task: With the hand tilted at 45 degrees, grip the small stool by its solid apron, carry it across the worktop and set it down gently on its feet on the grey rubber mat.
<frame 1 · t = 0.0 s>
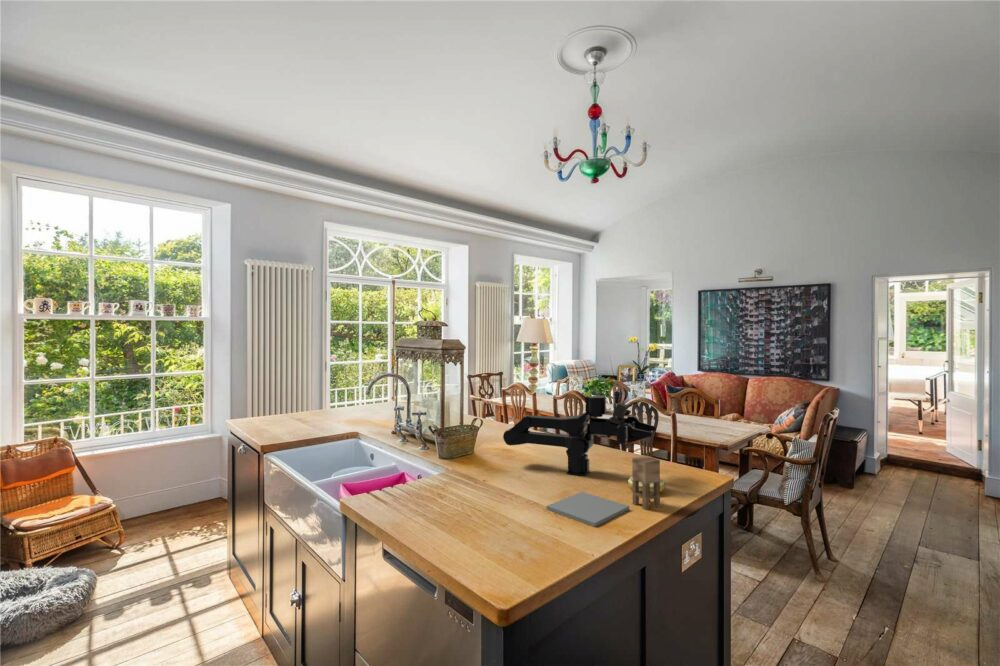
hand: (653, 431, 149), 17 cm above the worktop, tool horizontal, fingers open, 9 cm apart
decorated donut: (646, 491, 142), on the worktop
stool: (646, 505, 130), on the worktop
mat: (587, 509, 127), on the worktop
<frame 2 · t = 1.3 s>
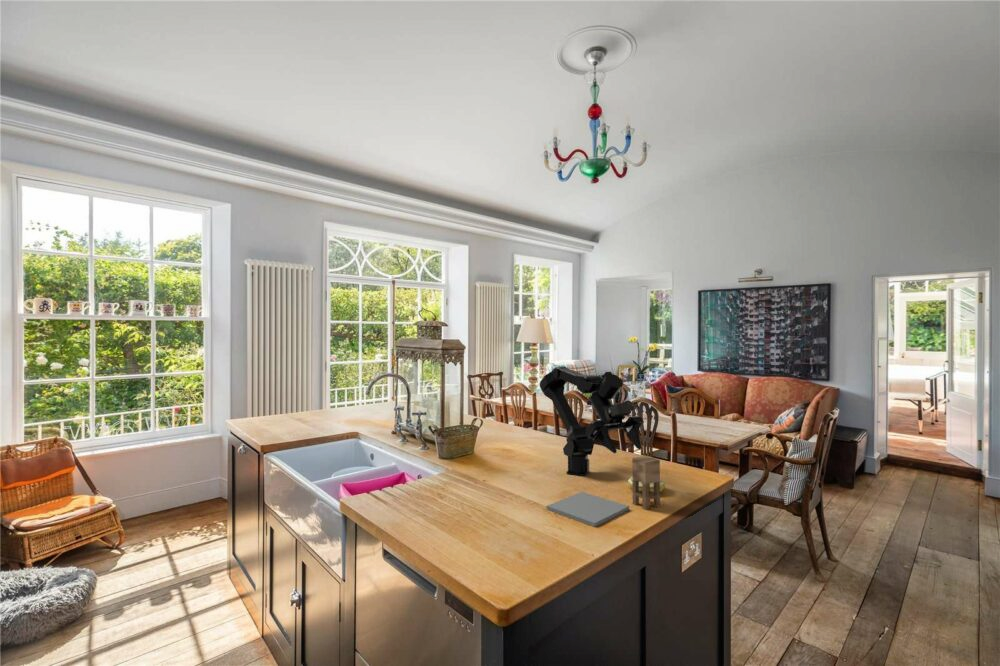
hand: (628, 450, 137), 14 cm above the worktop, tool tilted 45°, fingers open, 9 cm apart
nothing on the worktop moved.
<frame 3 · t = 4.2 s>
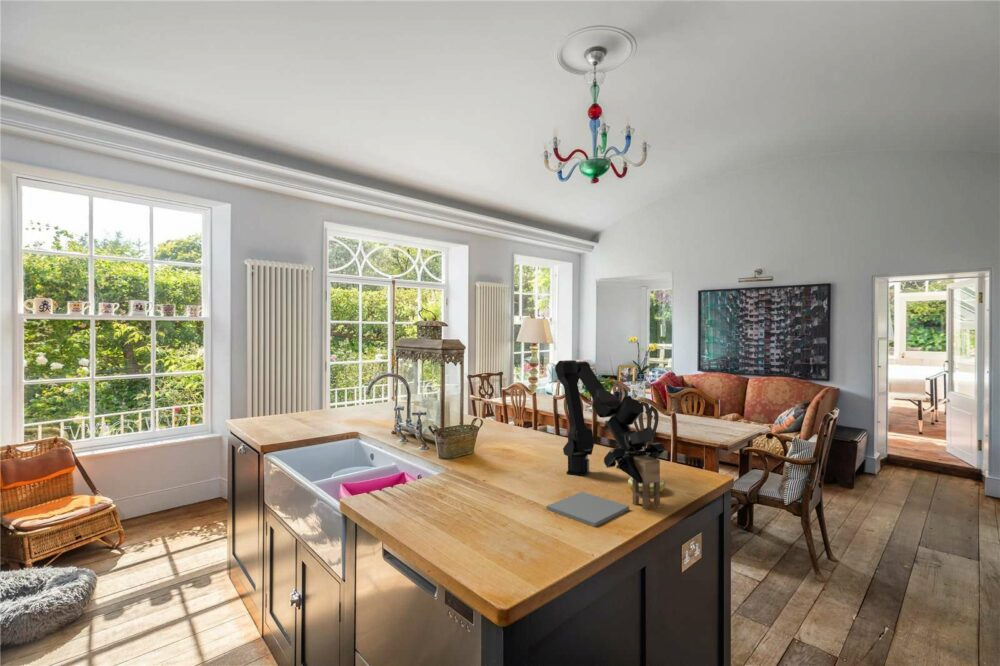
hand: (649, 481, 129), 7 cm above the worktop, tool tilted 45°, fingers closed on stool, 5 cm apart
stool: (646, 505, 130), on the worktop, touching gripper
everything else where it was.
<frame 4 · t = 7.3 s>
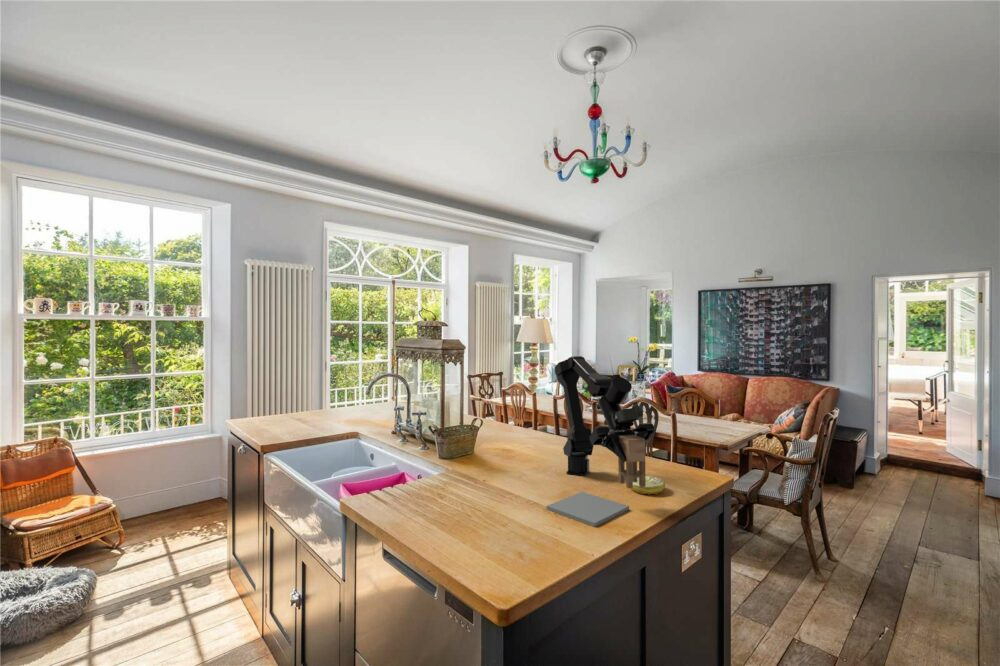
hand: (634, 460, 127), 14 cm above the worktop, tool tilted 45°, fingers closed on stool, 5 cm apart
stool: (631, 484, 128), point 6 cm above the worktop, touching gripper
everything else where it was.
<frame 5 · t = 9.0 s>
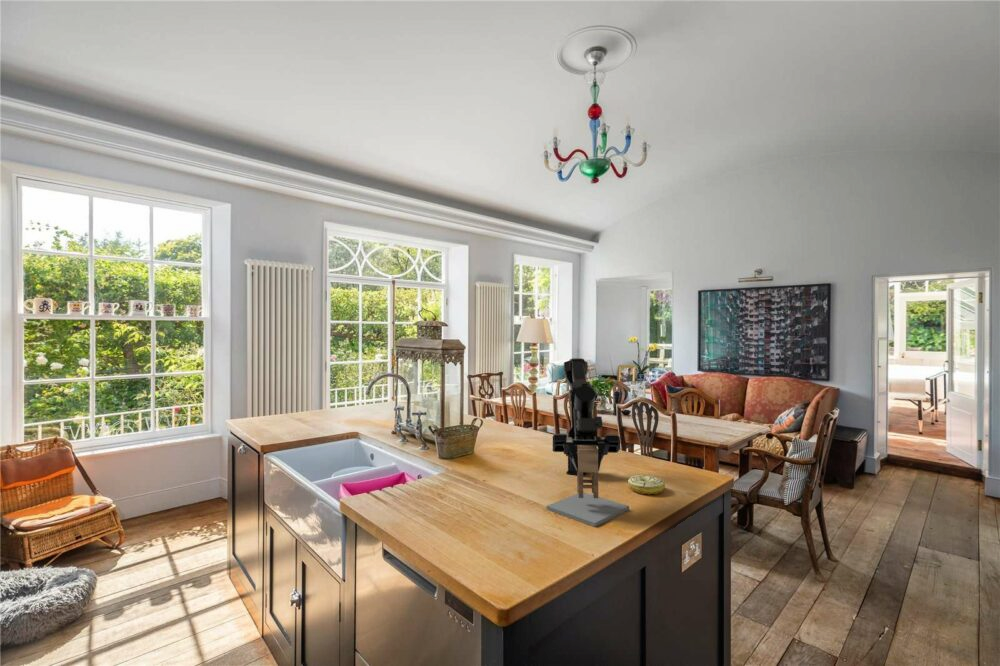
hand: (587, 470, 126), 11 cm above the worktop, tool tilted 45°, fingers closed on stool, 5 cm apart
stool: (587, 494, 127), point 4 cm above the worktop, touching gripper
everything else where it was.
when the fingers open (8 cm above the worktop, at t = 10.3 s): stool stays where it is, resting on mat.
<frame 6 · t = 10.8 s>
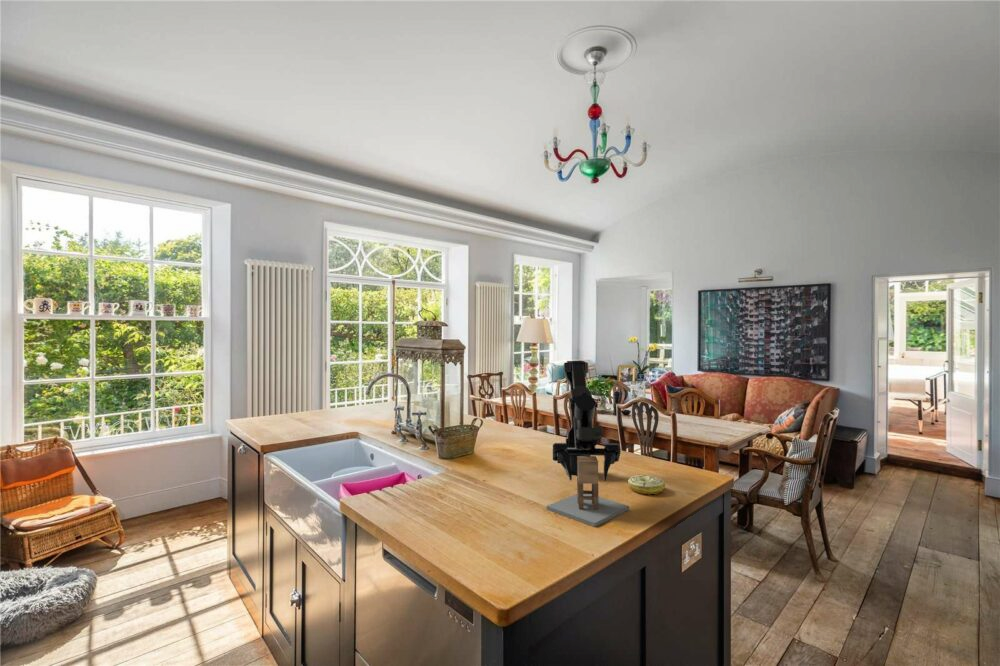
hand: (588, 480, 126), 9 cm above the worktop, tool tilted 45°, fingers open, 9 cm apart
stool: (587, 505, 127), point 1 cm above the worktop, touching mat
everything else where it was.
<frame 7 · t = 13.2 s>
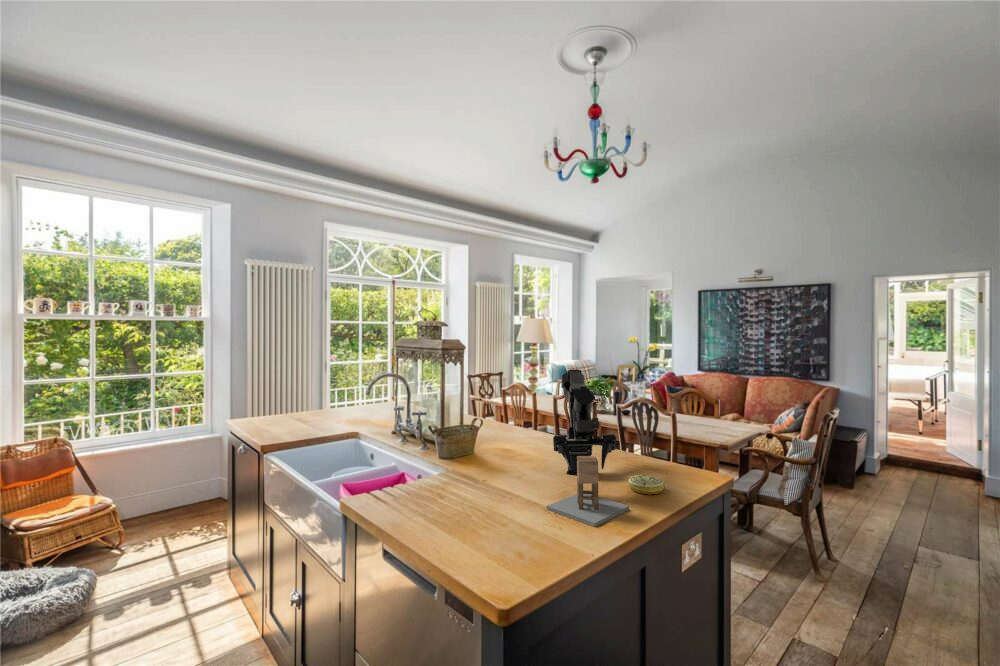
hand: (586, 468, 135), 9 cm above the worktop, tool tilted 40°, fingers open, 9 cm apart
nothing on the worktop moved.
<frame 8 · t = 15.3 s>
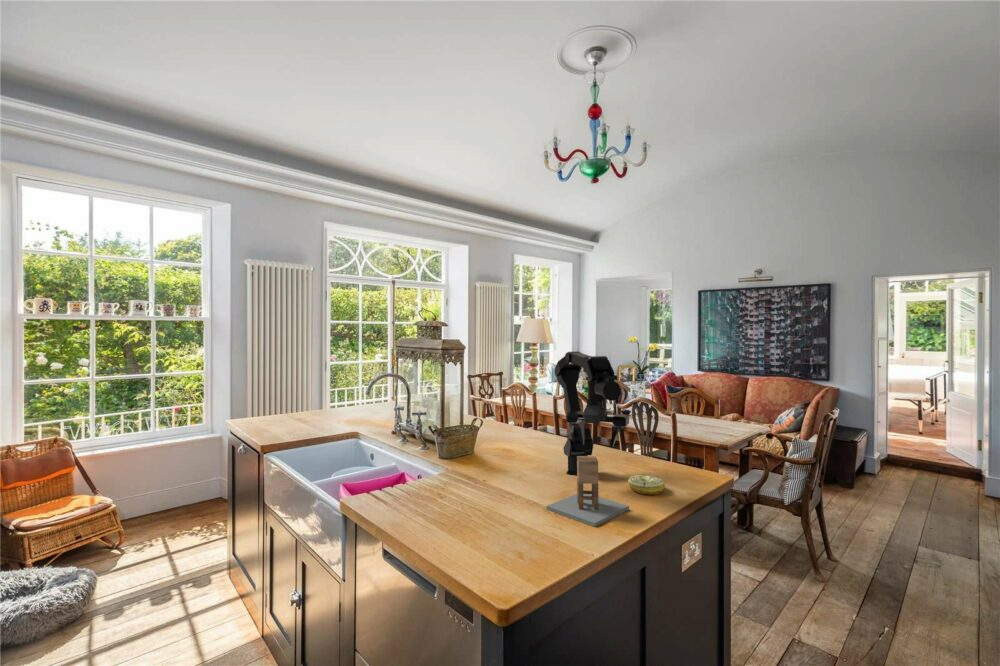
hand: (597, 445, 145), 13 cm above the worktop, tool pointing down, fingers open, 9 cm apart
nothing on the worktop moved.
at the end: stool inside the target area on the mat (0.0 cm from its centre), point 1.0 cm above the mat's base; stool tilted 0°; the gripper is holding nothing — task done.
